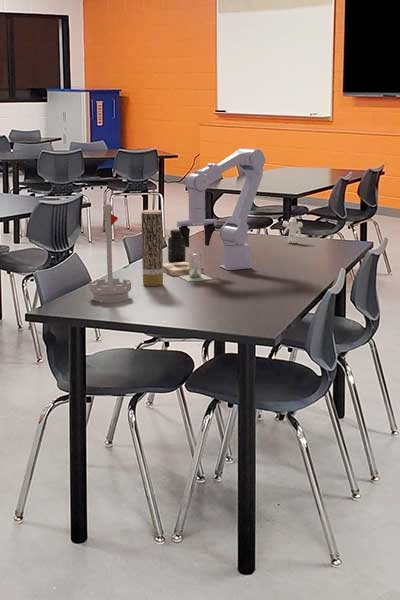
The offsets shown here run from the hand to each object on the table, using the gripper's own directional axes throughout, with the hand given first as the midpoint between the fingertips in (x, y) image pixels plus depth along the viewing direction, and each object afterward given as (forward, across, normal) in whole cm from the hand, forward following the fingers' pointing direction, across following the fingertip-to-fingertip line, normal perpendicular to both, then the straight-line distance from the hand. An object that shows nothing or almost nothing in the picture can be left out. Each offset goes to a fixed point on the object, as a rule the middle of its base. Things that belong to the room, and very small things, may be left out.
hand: (197, 246), depth 319 cm
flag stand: (+10, +40, +26) cm, 49 cm away
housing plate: (+10, +4, -6) cm, 12 cm away
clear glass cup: (+10, +4, +8) cm, 13 cm away
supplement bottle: (+10, -2, -26) cm, 28 cm away
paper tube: (+10, +21, +12) cm, 26 cm away
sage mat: (+10, +4, +8) cm, 13 cm away
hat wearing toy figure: (+10, -62, -45) cm, 77 cm away
